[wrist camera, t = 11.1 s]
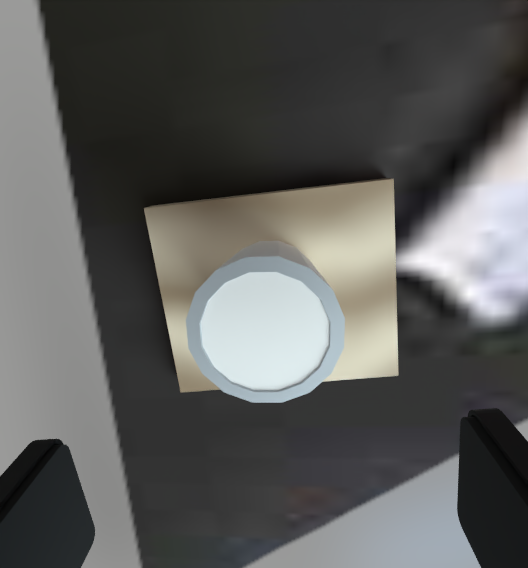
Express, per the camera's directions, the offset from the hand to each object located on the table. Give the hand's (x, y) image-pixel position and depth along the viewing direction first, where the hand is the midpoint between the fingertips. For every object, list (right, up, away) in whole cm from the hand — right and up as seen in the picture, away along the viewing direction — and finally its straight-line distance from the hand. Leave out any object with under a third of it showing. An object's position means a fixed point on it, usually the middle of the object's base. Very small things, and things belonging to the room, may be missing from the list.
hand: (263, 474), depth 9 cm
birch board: (+1, +4, +16) cm, 16 cm away
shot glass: (0, +4, +14) cm, 15 cm away
